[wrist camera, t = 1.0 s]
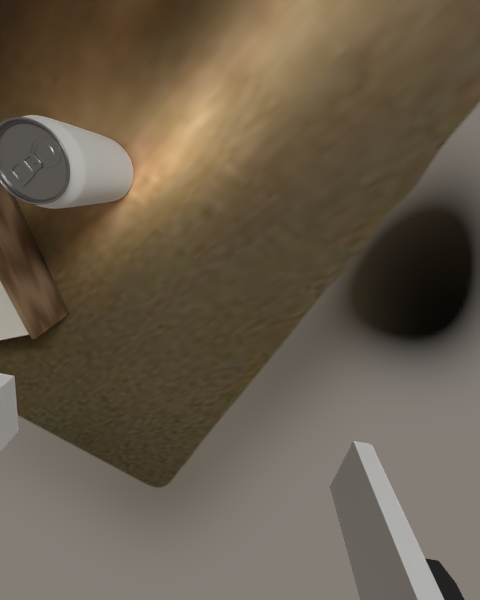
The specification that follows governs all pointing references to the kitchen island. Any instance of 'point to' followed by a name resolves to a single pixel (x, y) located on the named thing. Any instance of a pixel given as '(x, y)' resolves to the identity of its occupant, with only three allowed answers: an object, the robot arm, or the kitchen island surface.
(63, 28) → the kitchen island surface
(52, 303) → the box
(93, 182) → the can
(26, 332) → the lid
